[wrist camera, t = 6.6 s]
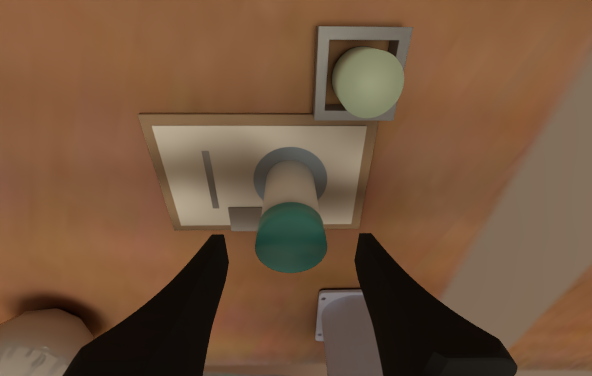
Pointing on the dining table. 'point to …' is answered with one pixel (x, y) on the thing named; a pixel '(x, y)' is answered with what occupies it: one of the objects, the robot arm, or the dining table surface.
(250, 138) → the clipboard
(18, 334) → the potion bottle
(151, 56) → the dining table surface
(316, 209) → the marker
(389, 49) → the button housing
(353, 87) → the button
